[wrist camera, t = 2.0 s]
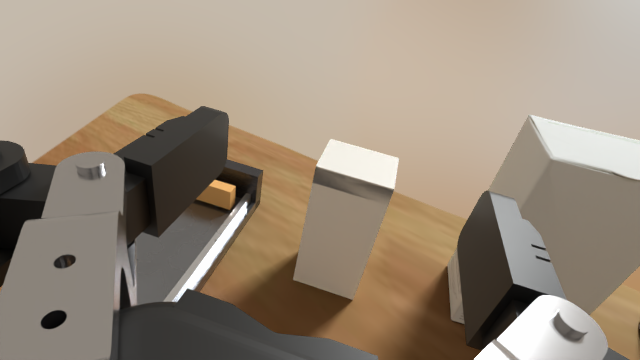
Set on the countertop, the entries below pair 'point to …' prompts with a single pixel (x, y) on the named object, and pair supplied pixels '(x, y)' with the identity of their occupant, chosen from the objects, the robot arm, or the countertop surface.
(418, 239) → the countertop surface
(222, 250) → the dark grey open tray
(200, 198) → the orange rectangular bar
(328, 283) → the block
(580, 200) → the skincare box
